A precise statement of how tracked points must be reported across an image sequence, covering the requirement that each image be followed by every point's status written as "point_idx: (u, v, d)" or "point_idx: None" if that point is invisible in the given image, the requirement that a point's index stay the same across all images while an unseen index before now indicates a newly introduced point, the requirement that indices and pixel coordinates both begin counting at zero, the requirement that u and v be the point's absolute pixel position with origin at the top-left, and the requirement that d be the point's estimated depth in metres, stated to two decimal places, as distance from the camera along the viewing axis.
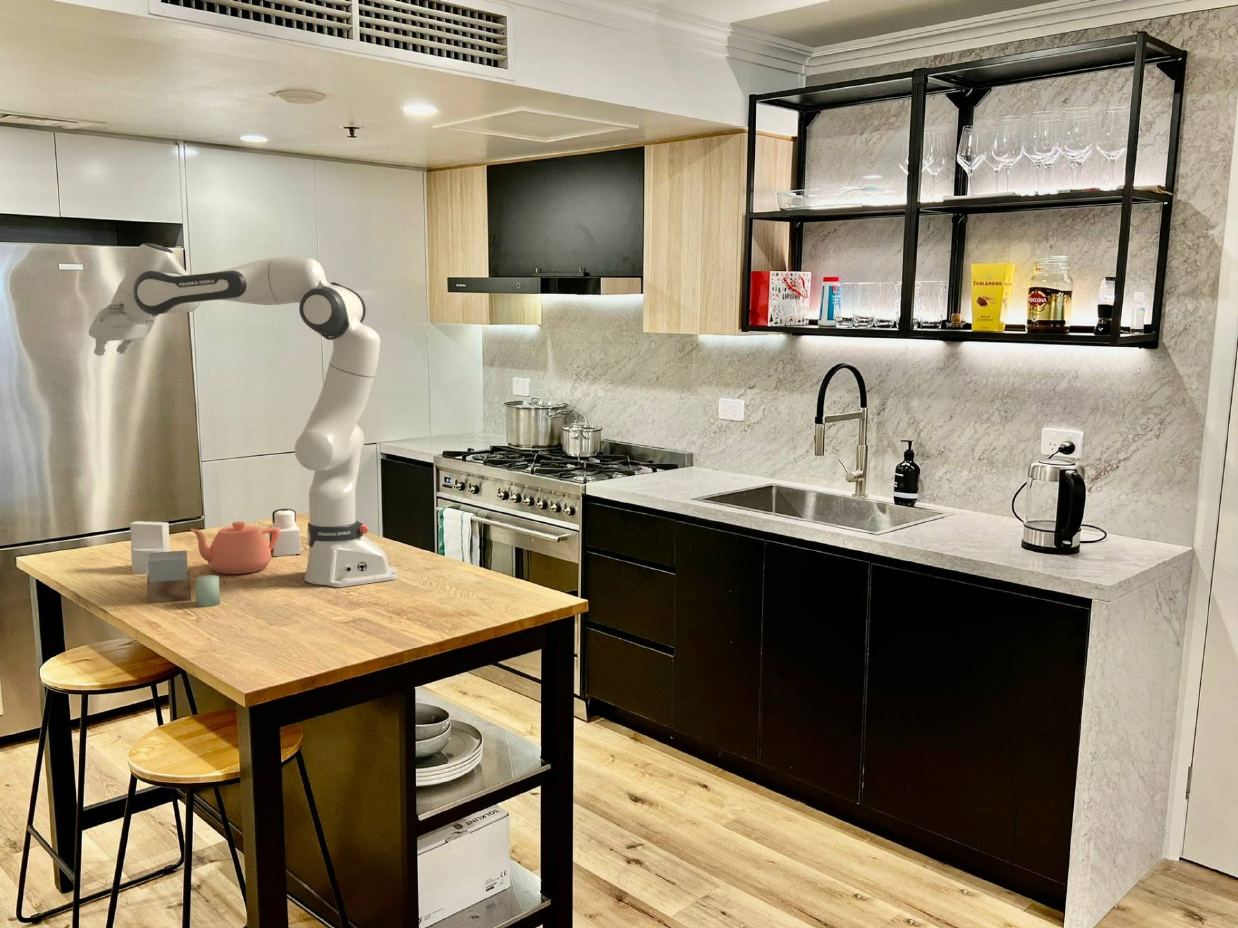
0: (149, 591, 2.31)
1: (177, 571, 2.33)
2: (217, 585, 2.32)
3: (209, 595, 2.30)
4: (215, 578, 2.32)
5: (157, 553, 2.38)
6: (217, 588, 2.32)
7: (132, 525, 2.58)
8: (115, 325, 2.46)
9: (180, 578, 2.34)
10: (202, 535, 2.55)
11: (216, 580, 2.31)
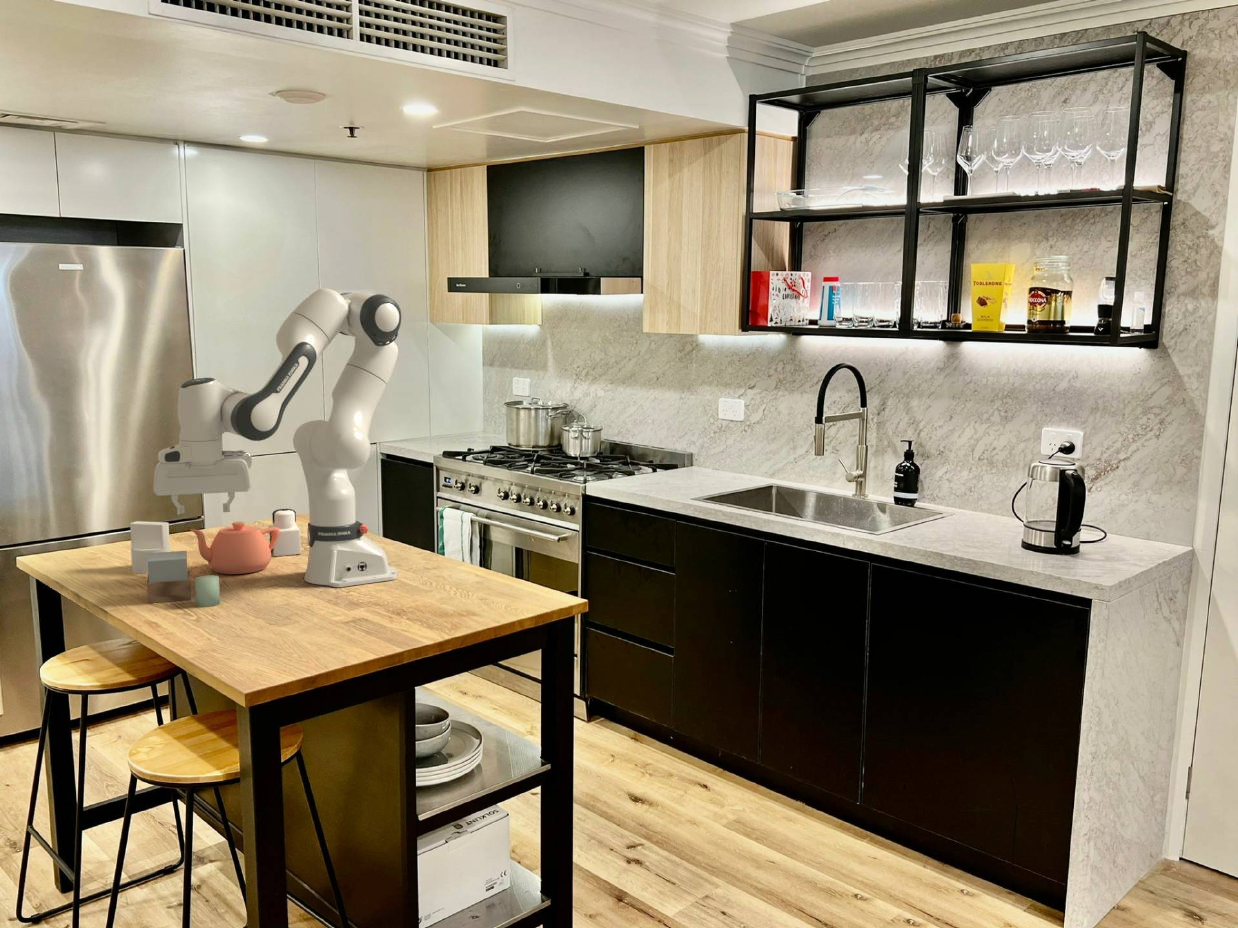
0: (149, 592, 2.31)
1: (176, 571, 2.33)
2: (217, 585, 2.32)
3: (209, 595, 2.30)
4: (215, 578, 2.32)
5: (157, 553, 2.38)
6: (217, 588, 2.32)
7: (132, 525, 2.58)
8: None
9: (180, 578, 2.34)
10: (202, 535, 2.55)
11: (216, 580, 2.31)
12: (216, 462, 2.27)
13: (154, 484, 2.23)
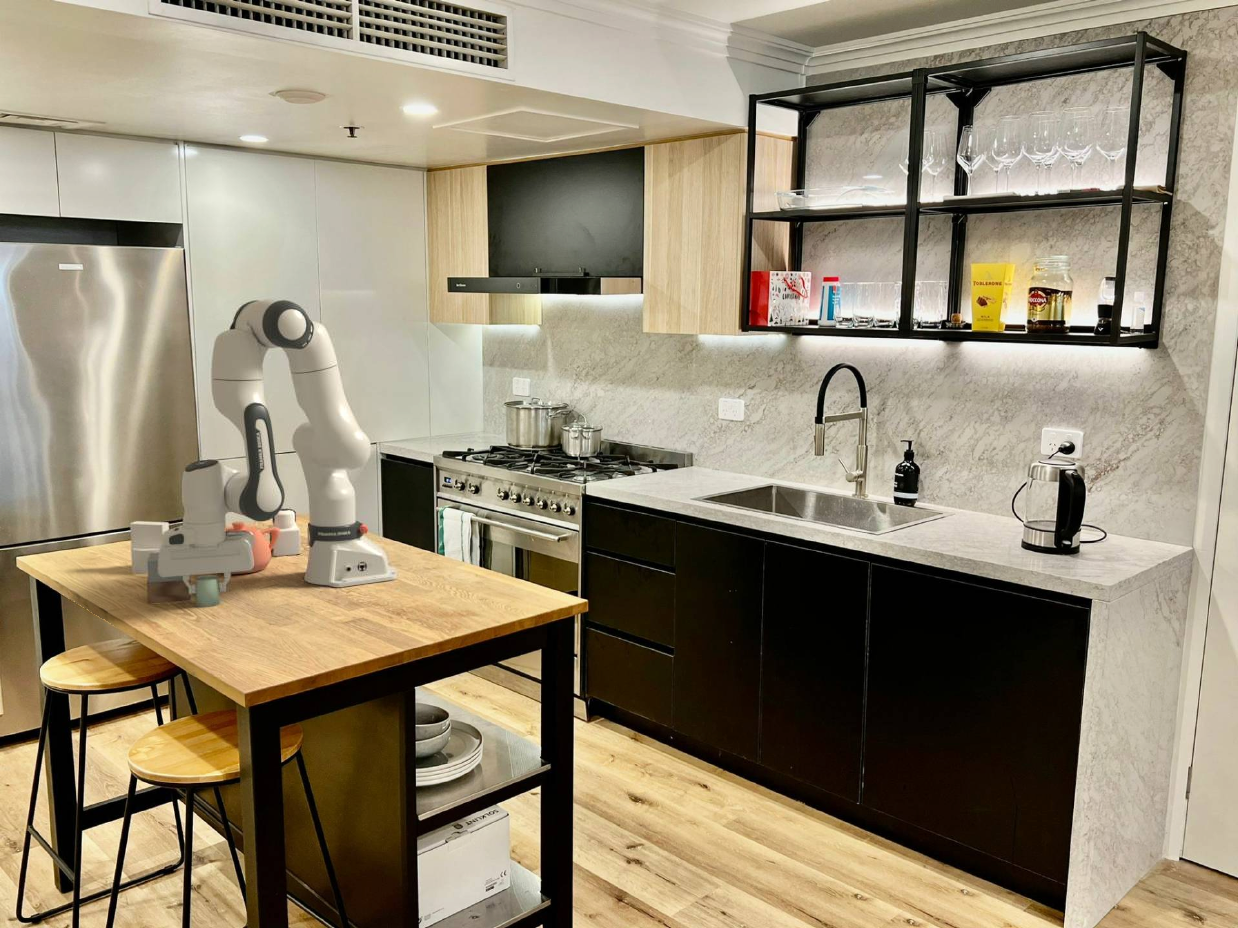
0: (149, 591, 2.31)
1: None
2: (217, 585, 2.32)
3: (209, 595, 2.30)
4: (215, 578, 2.32)
5: (158, 553, 2.38)
6: (217, 588, 2.32)
7: (132, 525, 2.58)
8: None
9: (179, 579, 2.34)
10: None
11: (216, 580, 2.31)
12: (219, 543, 2.30)
13: (158, 566, 2.26)
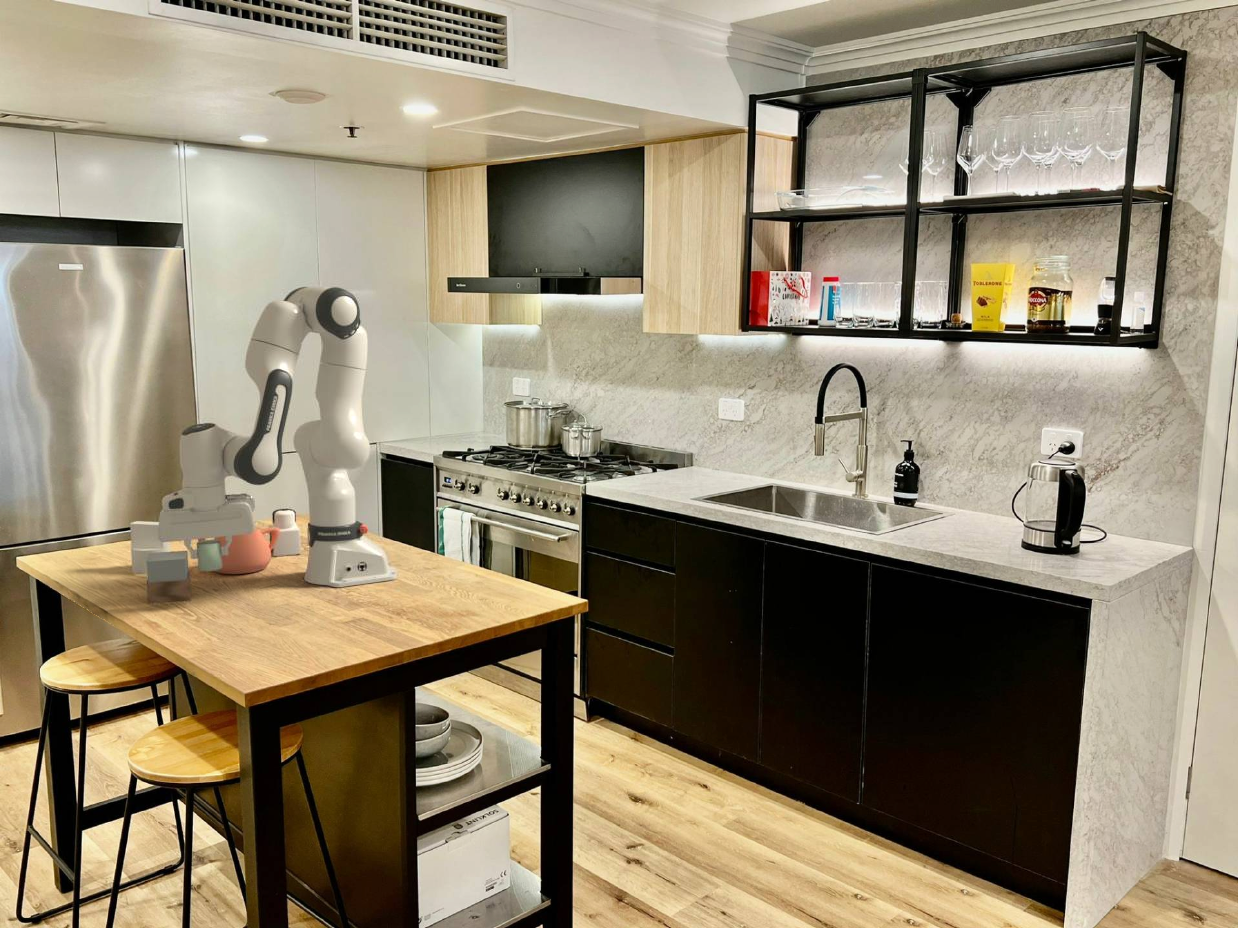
0: (148, 591, 2.31)
1: (175, 571, 2.33)
2: (219, 549, 2.31)
3: (211, 559, 2.30)
4: (216, 542, 2.31)
5: (157, 553, 2.38)
6: (219, 552, 2.31)
7: (132, 525, 2.58)
8: None
9: (179, 578, 2.34)
10: None
11: (218, 544, 2.31)
12: (220, 506, 2.29)
13: (159, 531, 2.25)
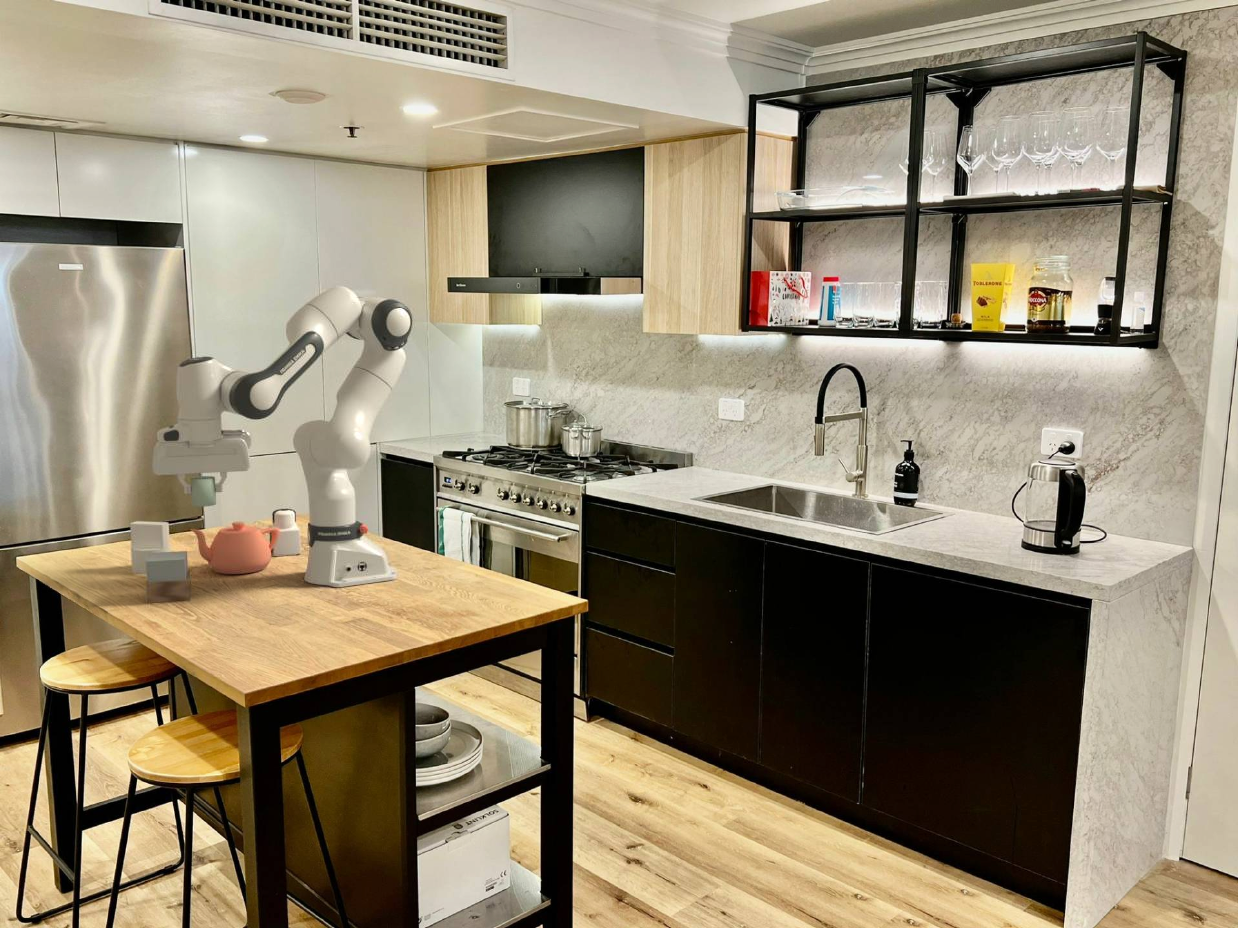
0: (148, 592, 2.31)
1: (174, 572, 2.33)
2: (213, 485, 2.28)
3: (204, 495, 2.27)
4: (211, 478, 2.28)
5: (157, 553, 2.38)
6: (213, 488, 2.28)
7: (132, 525, 2.58)
8: None
9: (178, 579, 2.33)
10: (202, 535, 2.55)
11: (212, 480, 2.28)
12: (215, 441, 2.27)
13: (153, 463, 2.22)
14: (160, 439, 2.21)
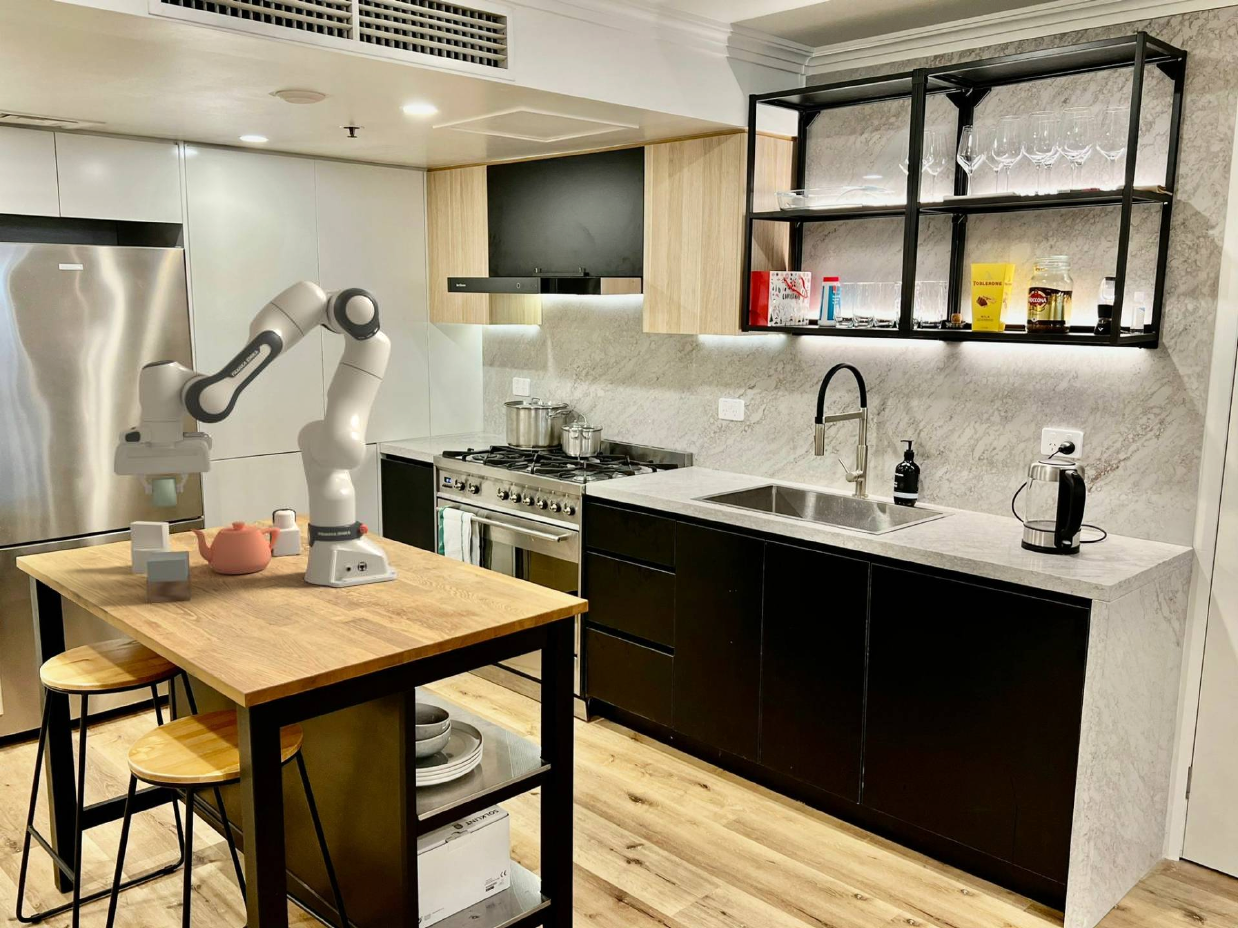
0: (148, 591, 2.31)
1: (175, 572, 2.33)
2: (174, 485, 2.33)
3: (165, 495, 2.31)
4: (172, 478, 2.33)
5: (159, 553, 2.38)
6: (174, 488, 2.33)
7: (132, 525, 2.58)
8: None
9: (178, 579, 2.33)
10: (202, 535, 2.55)
11: (173, 480, 2.32)
12: (176, 443, 2.31)
13: (115, 464, 2.27)
14: (121, 440, 2.26)
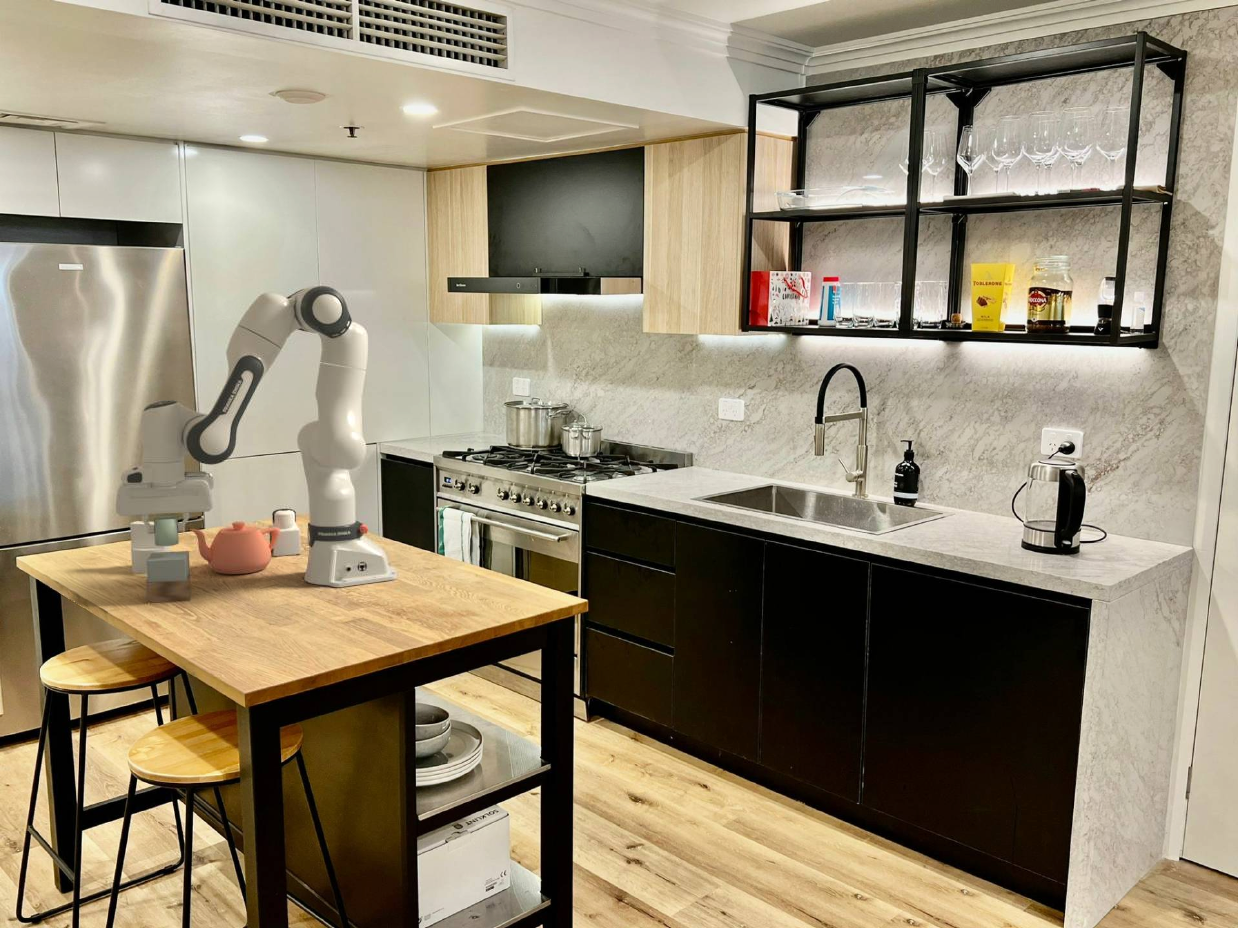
0: (148, 592, 2.31)
1: (175, 572, 2.33)
2: (176, 525, 2.34)
3: (167, 535, 2.33)
4: (173, 518, 2.34)
5: (159, 553, 2.38)
6: (176, 528, 2.34)
7: (132, 525, 2.58)
8: None
9: (178, 579, 2.33)
10: (202, 535, 2.55)
11: (175, 520, 2.34)
12: (178, 483, 2.33)
13: (117, 504, 2.28)
14: (124, 481, 2.27)
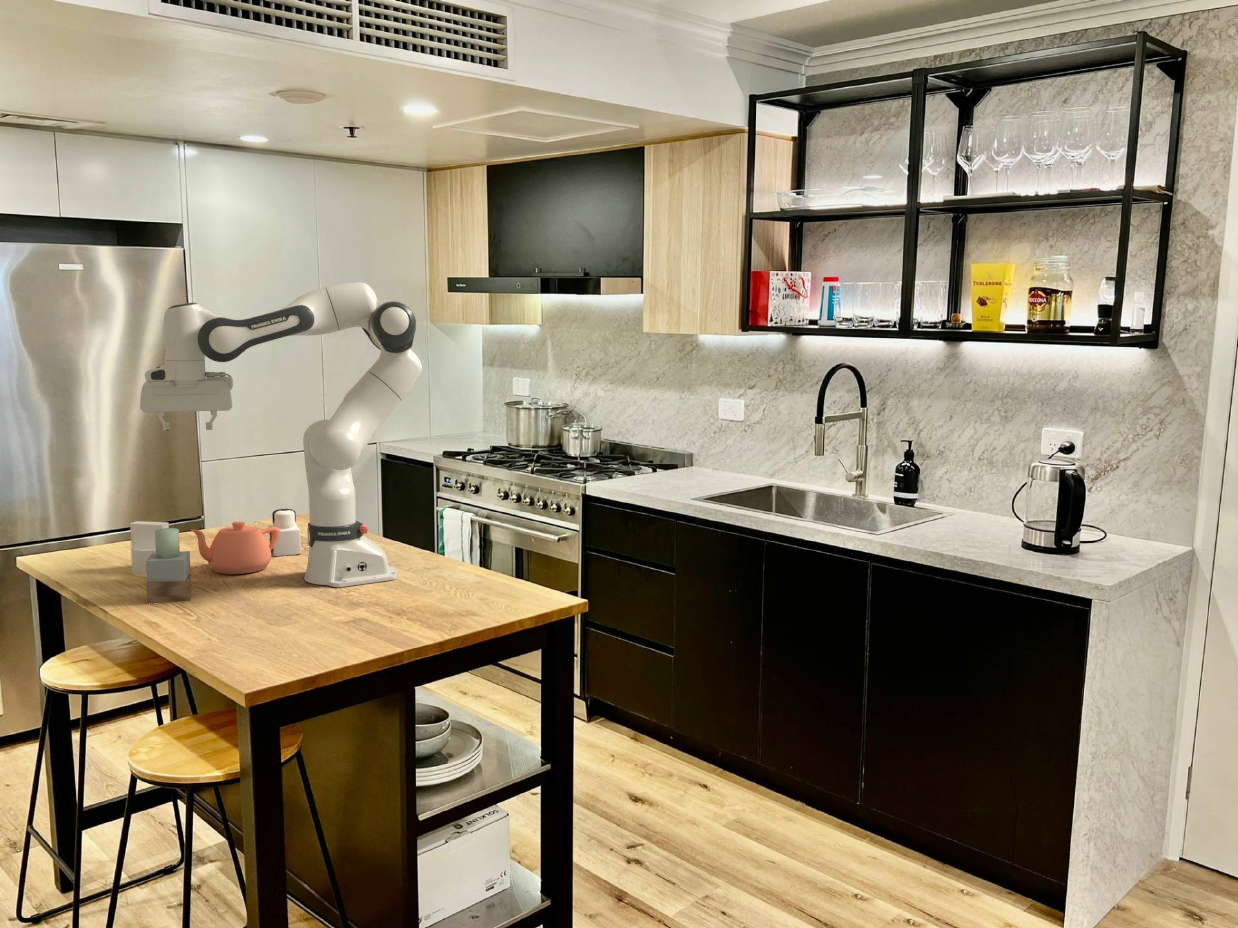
0: (148, 592, 2.31)
1: (174, 572, 2.33)
2: (177, 537, 2.35)
3: (168, 547, 2.33)
4: (174, 531, 2.34)
5: None
6: (177, 540, 2.35)
7: (132, 525, 2.58)
8: None
9: (177, 579, 2.33)
10: (202, 535, 2.55)
11: (176, 532, 2.34)
12: (199, 382, 2.43)
13: (141, 401, 2.38)
14: (147, 378, 2.37)
